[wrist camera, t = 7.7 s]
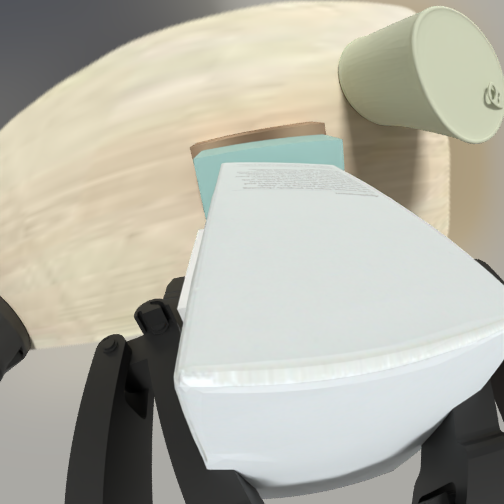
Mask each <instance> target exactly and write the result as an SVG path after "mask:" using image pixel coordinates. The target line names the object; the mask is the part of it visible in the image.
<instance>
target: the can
mask: <svg viewBox="0 0 504 504" xmlns="http://www.w3.org/2000/svg"><path fill="white" fill-rule="evenodd" d="M338 73H339V80H340V84H341V87H342V90H343V92H344V95H345V96H346V98H347V100H348V101H349V103H350V104H351V106H352V107H353V108H354V109H355V110H356V111H357V112H358V113H359V114H360V115H361V116H363V117H364V118H366V119H367V120H369V121H371V122H373V123H376V124H379V125H384V126H402V127H408V128H414V129H419V130H425V131H429V132H434V133H438V134H442V135H446V136H450V137H453V138H456V139H459V140H461V141H464V142H467V143H470V144H480V143H483V142H486V141H488V140H489V139H490V138H492V137H493V136H494V134H495V133H496V132H497V131H498V129H499V127H500V125H501V123H502V120H503V117H504V77H503V73H502V69H501V66H500V63H499V60H498V58H497V56H496V54H495V52H494V50H493V48H492V46H491V44H490V43H489V41H488V40H487V38H486V37H485V35H484V34H483V33H482V32H481V30H480V29H479V28H478V27H477V26H476V25H475V24H474V23H473V22H472V21H471V20H470V19H468V18H467V17H466V16H464V15H463V14H461V13H460V12H458V11H456V10H454V9H451V8H448V7H443V6H433V7H429V8H427V9H425V10H424V11H422V12H420V13H417V14H415V15H412V16H410V17H408V18H405V19H403V20H401V21H398V22H396V23H394V24H391V25H389V26H387V27H385V28H383V29H380V30H378V31H376V32H374V33H372V34H369V35H367V36H363V37H360V38H357V39H355V40H354V41H352V42H351V43H350V44H348V45H347V47H346V48H345V49H344V51H343V53H342V55H341V57H340V61H339V71H338Z"/></svg>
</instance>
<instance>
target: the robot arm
mask: <svg viewBox="0 0 504 504" xmlns="http://www.w3.org/2000/svg"><path fill="white" fill-rule="evenodd" d="M203 232H204V229H200V230H198V233H197V236H196V240H195V243H194V247H193V250H192V254H191V258H190V261H189V265H188V269H187V272H186V276H184V277H179V278H174V279H173V280H172V281H171V282H170V283H169V285H168V286H167V289H166V292H165V295H164V298H163V299H153V300H149V301H147V302H145V303H143V304H142V305H141V306H140V307H138V309H137V310H136V312H135V314H134V318H135V320H136V322H137V323H138V325H139V327H140V329H141V330H142V332H143V334H144V335H143V336H140V337H138V338H135V339H133V340H130V341H127V342H126V340H125V339H124V337H123V336H122V335H119V334H113V335H110V336H108V337H106V338H104V339H103V340H102V341H101V342H100V343H99V344H98V346H97V348H96V351H95V354H94V357H93V360H92V364H91V367H90V371H89V374H88V378H87V381H86V384H85V388H84V392H83V396H82V400H81V404H80V408H79V412H78V417H77V421H76V426H75V431H74V436H73V441H72V447H71V453H70V459H69V467H68V474H67V483H66V493H65V504H153V503H152V502H153V501H152V426H153V407H154V397H155V402H156V406H157V411H158V415H159V419H160V423H161V427H162V431H163V435H164V438H165V442H166V445H167V449H168V452H169V455H170V459H171V462H172V466H173V469H174V472H175V475H176V478H177V481H178V484H179V486H180V489H181V492H182V495H183V497H184V500H185V503H186V504H264V502H263V500H262V499H261V497H260V495H259V493H258V491H257V490H256V489H255V488H254V487H253V486H252V485H251V484H250V483H248V482H247V481H246V480H245V479H244V478H243V477H242V476H240V475H239V474H238V473H237V472H236V471H235V470H210V469H207V468H206V465H205V463H204V460H203V458H202V456H201V454H200V451H199V449H198V447H197V445H196V443H195V441H194V438H193V436H192V433H191V431H190V428H189V426H188V423H187V421H186V418H185V416H184V413H183V411H182V408H181V405H180V401H179V398H178V395H177V393H176V390H175V385H174V372H175V366H176V360H177V354H178V349H179V343H180V338H181V332H182V327H183V322H184V317H185V311H186V306H187V301H188V295H189V290H190V285H191V280H192V276H193V272H194V268H195V265H196V261H197V257H198V252H199V248H200V244H201V240H202V236H203ZM474 260H475V261H477V262H478V263H479V264H480V265H481V266H483V267H484V268H485V269H486V270H487V271H488V272H490V273H491V274H492V275H493V276H494V277H495V278H496V279H497V280H499V281H500V282H501V283H502V284H503V285H504V281H503V280H502V279H501V278H500V277H499V276H498V275H497V274H496V273H495V272H494V270H492V269H491V267H490V266H489V265H488V264H486V263H485V262H483V261H481V260H479V259H478V260H477V259H474ZM29 349H30V340H29V337H28V334H27V332H26V330H25V328H24V326H23V324H22V323H21V321H20V320H19V318H18V317H17V315H16V314H15V313H14V311H13V310H12V309H11V308H10V306H9V305H8V304H7V303H6V302H5V301H4V300H3V299H2V298H1V297H0V381H1V379H2V378H3V376H4V374H5V373H6V372H7V371H9V370H10V369H11V368H12V367H14V366H15V365H16V364H18V363H19V362H20V361H21V360H23V359H24V358H25V356H26V354H27V353H28V351H29ZM494 399H495V400H494ZM495 402H496V404H497V406H498V409H499V411H500V414H501V416H502V419H503V421H504V360H503V361H502V363H501V364H500V365H499V367H498V368H497V370H496V371H495V372H494V374H493V375H492V376H491V378H490V379H489V380H488V381H487V383H486V384H485V385H484V386H483V387H482V389H481V390H480V391H478V392H477V393H475V394H474V395H472V396H471V397H469V398H468V399H466V400H465V401H463V402H462V403H460V404H459V405H457V406H456V407H454V408H453V409H452V410H451V412H450V413H449V414H448V416H447V417H446V418H445V419H444V420H443V422H442V423H441V424H440V425H439V426H438V428H437V429H436V430H435V431H434V432H433V433H432V434H431V435H430V437H429V438H428V439H427V440H426V441H425V442H424V443H423V444H422V445H421V469H420V473H419V476H418V478H417V480H416V483H415V486H414V492H413V500H412V504H504V432H502V431H501V430H500V428H499V423H498V417H497V410H496V405H495Z"/></svg>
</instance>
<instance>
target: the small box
mask: <svg viewBox="0 0 504 504" xmlns="http://www.w3.org/2000/svg"><path fill="white" fill-rule="evenodd" d="M503 360H504V285H503V284H502V283H501V282H500V281H499V280H497V279H496V278H495V277H494V276H493V275H492V274H491V273H490V272H488V271H487V270H486V269H485V268H484V267H483V266H481V265H480V264H479V263H478V262H477V261H475V260H474V259H473V258H472V257H470V255H468V254H467V253H466V252H465V251H464V250H462V249H461V248H460V247H459V246H457V245H456V244H455V243H454V242H452V241H451V240H450V239H449V238H447V237H446V236H445V235H443V234H442V233H441V232H439V231H438V230H437V229H435V228H434V227H432V226H431V225H430V224H428V223H427V222H425V221H424V220H423V219H421V218H420V217H418V216H417V215H415V214H414V213H412V212H411V211H409V210H408V209H406V208H405V207H403V206H402V205H400V204H399V203H397V202H396V201H394V200H393V199H391V198H390V197H388V196H386V195H385V194H383V193H381V192H380V191H378V190H377V189H375V188H374V187H372V186H370V185H368V184H367V183H365V182H363V181H362V180H360V179H358V178H356V177H354V176H353V175H351V174H349V173H347V172H345V171H343V170H342V169H340V168H338V167H336V166H334V165H324V164H305V163H271V162H233V163H222V164H221V167H220V171H219V175H218V179H217V183H216V186H215V190H214V193H213V196H212V199H211V203H210V207H209V212H208V216H207V220H206V224H205V228H204V232H203V236H202V240H201V244H200V248H199V252H198V257H197V261H196V265H195V268H194V272H193V276H192V280H191V285H190V290H189V295H188V301H187V306H186V311H185V317H184V322H183V327H182V332H181V338H180V343H179V349H178V354H177V360H176V366H175V372H174V385H175V390H176V393H177V395H178V398H179V401H180V405H181V408H182V411H183V413H184V416H185V418H186V421H187V423H188V426H189V428H190V431H191V433H192V436H193V438H194V441H195V443H196V445H197V447H198V449H199V451H200V454H201V456H202V458H203V460H204V463H205V465H206V468H207V469H210V470H235V471H236V472H237V473H238V474H239V475H240V476H242V477H243V478H244V479H245V480H246V481H247V482H248V483H250V484H251V485H252V486H253V487H254V488H255V489H256V490H257V491H258V493H259V495H260V497H261V499H271V498H283V497H292V496H300V495H306V494H312V493H318V492H323V491H328V490H333V489H336V488H340V487H344V486H348V485H352V484H355V483H359V482H362V481H366V480H369V479H372V478H374V477H377V476H380V475H383V474H386V473H388V472H391V471H393V470H394V469H396V468H397V467H399V466H400V465H401V464H402V463H404V462H405V461H407V460H408V459H409V458H410V457H412V456H413V455H414V454H415V453H417V452H418V451H419V450H420V449H421V445H422V444H423V443H424V442H425V441H426V440H427V439H428V438H429V437H430V435H431V434H432V433H433V432H434V431H435V430H436V429H437V428H438V426H439V425H440V424H441V423H442V422H443V420H444V419H445V418H446V417H447V416H448V414H449V413H450V412H451V410H452V409H453V408H454V407H456V406H457V405H459V404H460V403H462V402H463V401H465V400H466V399H468V398H469V397H471V396H472V395H474V394H475V393H477V392H478V391H480V390H481V389H482V387H483V386H484V385H485V384H486V383H487V381H488V380H489V379H490V378H491V376H492V375H493V374H494V372H495V371H496V370H497V368H498V367H499V365H500V364H501V363H502V361H503Z"/></svg>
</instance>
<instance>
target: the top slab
mask: <svg viewBox="0 0 504 504" xmlns="http://www.w3.org/2000/svg"><path fill="white" fill-rule="evenodd" d="M193 161H194V166H195V171H196V175H197V180H198V185H199V189H200V194H201V199H202V203H203V208H204V212H205V217H206V220H207V216H208V212H209V207H210V203H211V199H212V196H213V193H214V190H215V186H216V183H217V179H218V175H219V171H220V167H221V164H222V163H233V162H271V163H305V164H324V165H334V166H336V167H338V168H340V169H342V170H343V171H344V155H343V141H342V139H339V138H335V137H332V136H328V135H324V134H320V135H308V136H297V137H287V138H278V139H270V140H263V141H255V142H249V143H242V144H236V145H230V146H224V147H219V148H213V149H208V150H203V151H201V152H200V153H199V154H198V155H197V156H196V157H195V158H194V159H193Z"/></svg>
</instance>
